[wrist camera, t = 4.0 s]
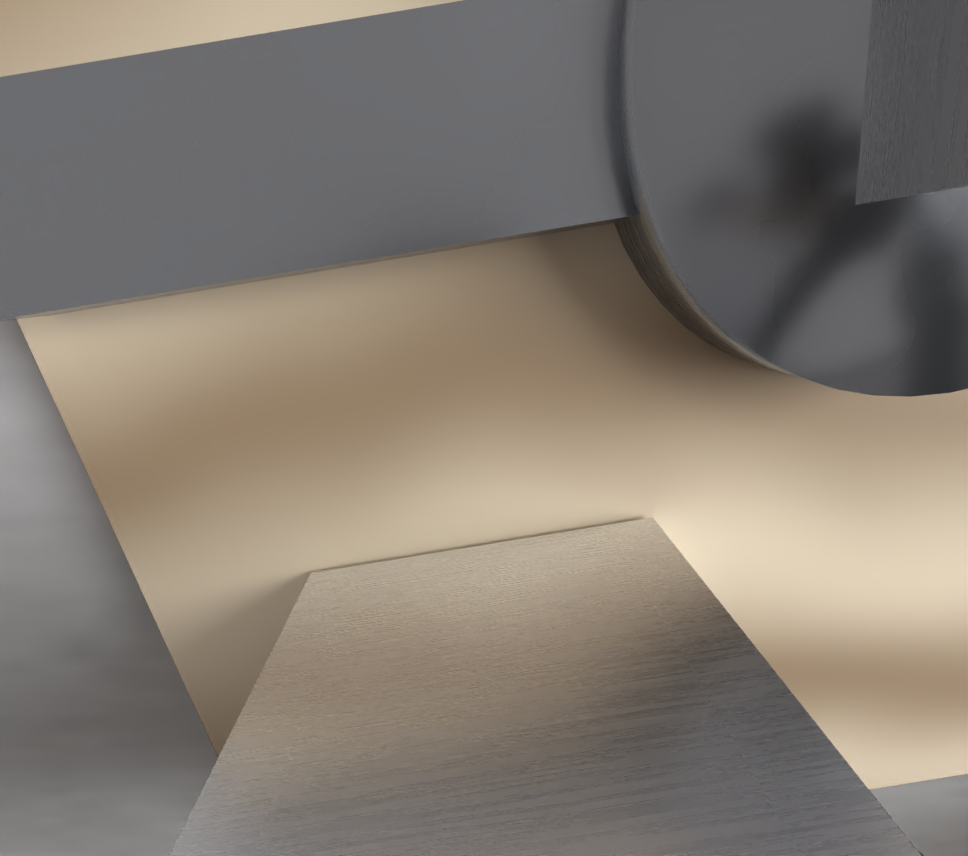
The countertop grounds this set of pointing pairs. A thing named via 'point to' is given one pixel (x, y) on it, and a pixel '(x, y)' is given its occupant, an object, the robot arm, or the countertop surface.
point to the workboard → (500, 442)
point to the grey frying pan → (532, 165)
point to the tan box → (528, 718)
